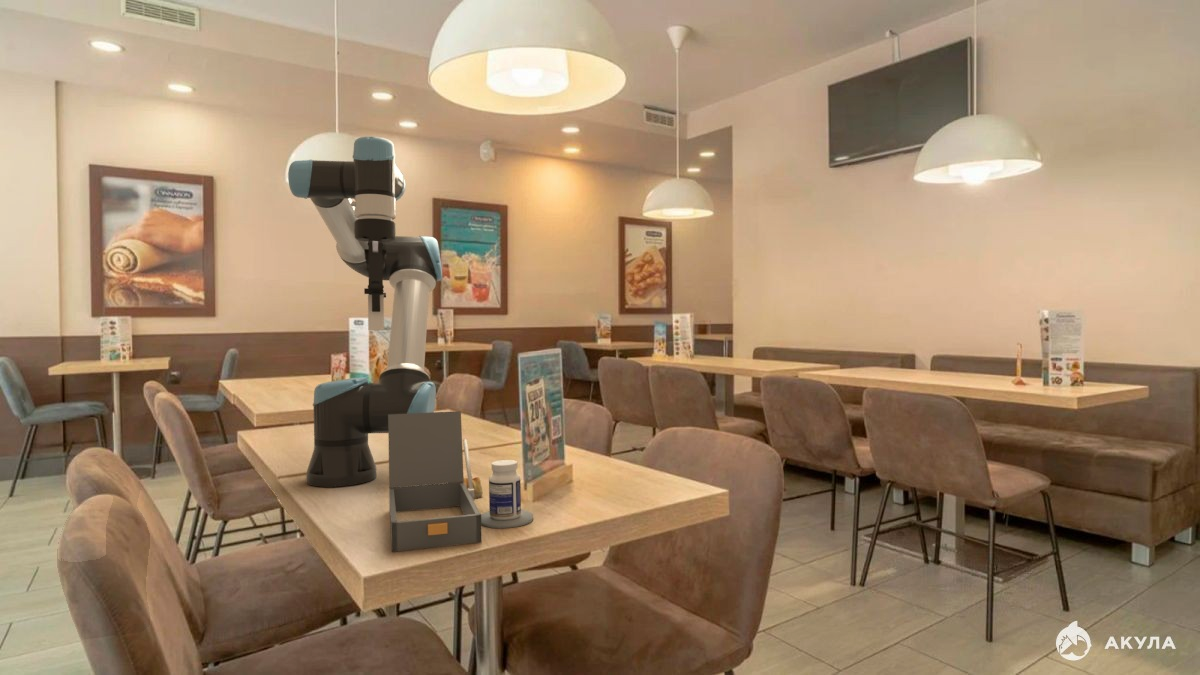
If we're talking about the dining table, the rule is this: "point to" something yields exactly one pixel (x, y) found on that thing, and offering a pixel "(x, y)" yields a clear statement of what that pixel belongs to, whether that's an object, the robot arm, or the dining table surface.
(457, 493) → the case
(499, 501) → the pill bottle
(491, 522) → the pad
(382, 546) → the dining table surface
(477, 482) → the pastry
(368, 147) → the robot arm
